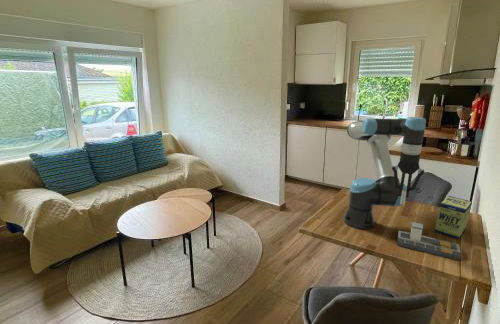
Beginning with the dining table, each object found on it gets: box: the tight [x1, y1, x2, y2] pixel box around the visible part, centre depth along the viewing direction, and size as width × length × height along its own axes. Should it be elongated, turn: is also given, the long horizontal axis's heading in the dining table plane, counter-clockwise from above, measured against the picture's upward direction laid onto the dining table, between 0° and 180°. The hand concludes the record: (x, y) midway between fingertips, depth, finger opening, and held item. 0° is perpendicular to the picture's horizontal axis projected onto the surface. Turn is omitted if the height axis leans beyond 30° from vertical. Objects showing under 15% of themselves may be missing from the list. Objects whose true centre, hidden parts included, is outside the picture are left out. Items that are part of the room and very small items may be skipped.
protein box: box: [434, 195, 473, 240], centre depth 146 cm, size 10×16×16 cm
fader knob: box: [410, 221, 424, 242], centre depth 135 cm, size 4×5×7 cm
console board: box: [396, 229, 462, 262], centre depth 134 cm, size 24×12×3 cm, turn 62°
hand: (402, 203), depth 135 cm, fingers closed
